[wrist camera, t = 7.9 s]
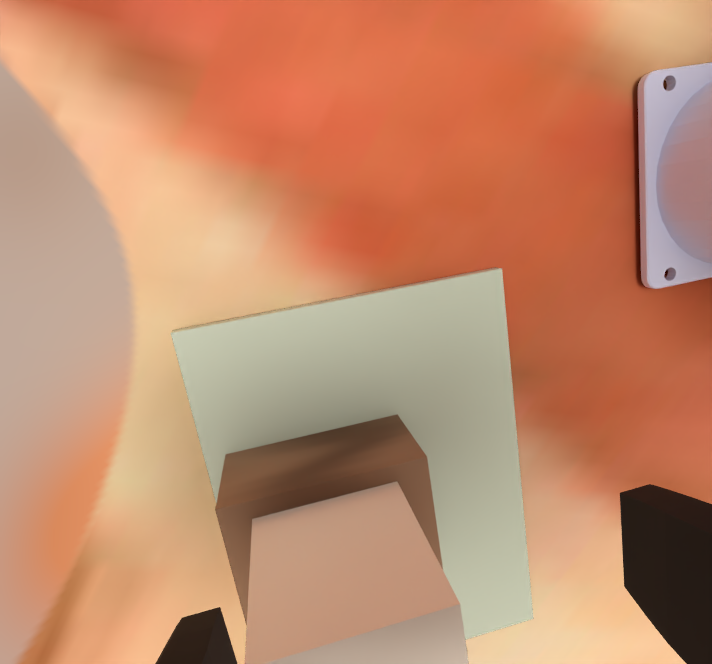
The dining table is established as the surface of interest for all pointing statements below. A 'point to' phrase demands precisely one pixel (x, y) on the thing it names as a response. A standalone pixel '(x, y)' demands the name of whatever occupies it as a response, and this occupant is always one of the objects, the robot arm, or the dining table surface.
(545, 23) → the dining table surface
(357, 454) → the walnut base
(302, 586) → the peach block
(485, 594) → the board
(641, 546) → the robot arm
